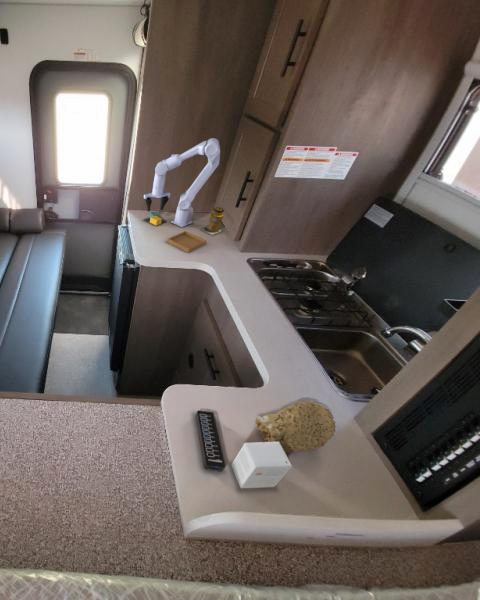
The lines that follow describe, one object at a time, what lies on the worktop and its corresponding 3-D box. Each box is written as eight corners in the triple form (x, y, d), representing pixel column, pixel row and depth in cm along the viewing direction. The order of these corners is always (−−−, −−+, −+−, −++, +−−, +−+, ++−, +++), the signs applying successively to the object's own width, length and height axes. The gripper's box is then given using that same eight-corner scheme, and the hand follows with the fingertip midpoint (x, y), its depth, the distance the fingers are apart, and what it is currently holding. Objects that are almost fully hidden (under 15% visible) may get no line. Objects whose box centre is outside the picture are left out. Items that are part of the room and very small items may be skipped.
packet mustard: (154, 220, 184) (155, 215, 183) (161, 223, 181) (162, 218, 179) (149, 222, 183) (150, 217, 181) (156, 225, 179) (156, 220, 178)
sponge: (271, 464, 80) (356, 451, 78) (273, 443, 76) (362, 428, 75) (245, 421, 91) (319, 409, 90) (246, 401, 88) (322, 388, 86)
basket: (184, 234, 172) (185, 231, 171) (205, 243, 164) (206, 240, 163) (166, 242, 165) (167, 238, 164) (188, 252, 157) (189, 249, 156)
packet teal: (155, 216, 189) (156, 211, 187) (159, 220, 185) (159, 215, 183) (149, 216, 188) (150, 212, 186) (152, 220, 184) (153, 215, 183)
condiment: (222, 230, 176) (228, 209, 168) (212, 235, 172) (218, 213, 165) (210, 226, 181) (216, 205, 173) (201, 230, 177) (206, 208, 169)
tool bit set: (211, 416, 88) (214, 412, 87) (223, 471, 77) (226, 467, 76) (195, 414, 89) (196, 410, 87) (203, 469, 77) (206, 464, 76)
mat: (154, 216, 190) (154, 215, 190) (166, 221, 184) (166, 221, 184) (143, 220, 185) (143, 219, 185) (155, 226, 180) (155, 225, 180)
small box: (262, 463, 79) (279, 440, 72) (274, 488, 74) (293, 466, 68) (230, 464, 78) (244, 441, 72) (239, 489, 74) (255, 467, 67)
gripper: (148, 189, 171) (145, 214, 179) (174, 187, 173) (169, 212, 182) (143, 184, 176) (140, 209, 185) (168, 183, 179) (164, 207, 187)
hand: (154, 210), depth 183 cm, fingers open, 7 cm apart
